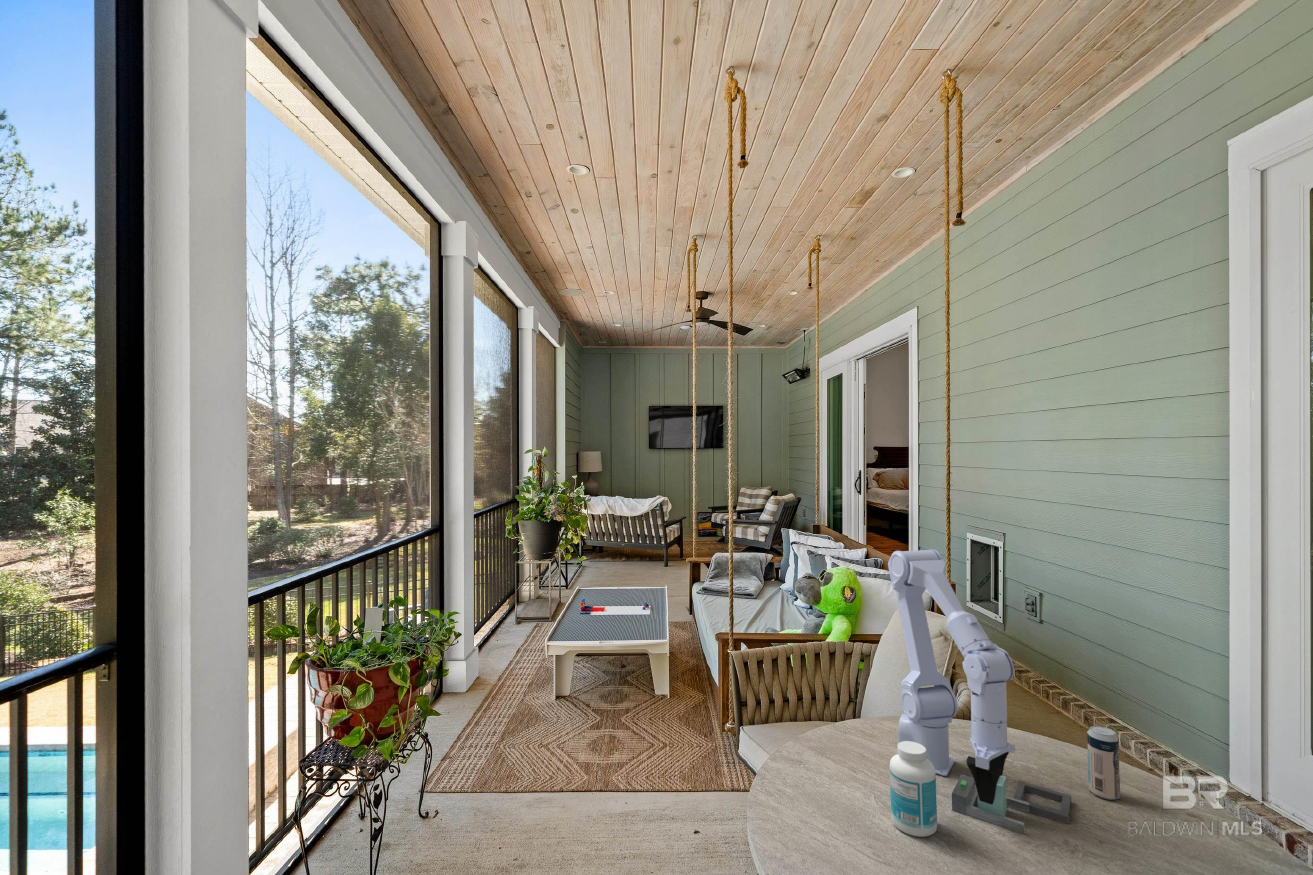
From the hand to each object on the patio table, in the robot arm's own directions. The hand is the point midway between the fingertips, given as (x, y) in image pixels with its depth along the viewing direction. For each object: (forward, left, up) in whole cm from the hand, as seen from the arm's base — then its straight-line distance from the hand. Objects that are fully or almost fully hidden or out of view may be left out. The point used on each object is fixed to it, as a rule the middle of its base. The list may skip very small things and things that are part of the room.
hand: (990, 791), depth 108 cm
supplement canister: (+16, +19, -4) cm, 25 cm away
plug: (0, 0, -3) cm, 3 cm away
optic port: (0, 0, -3) cm, 3 cm away
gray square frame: (+7, +8, -3) cm, 11 cm away
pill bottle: (-10, -13, -4) cm, 17 cm away
